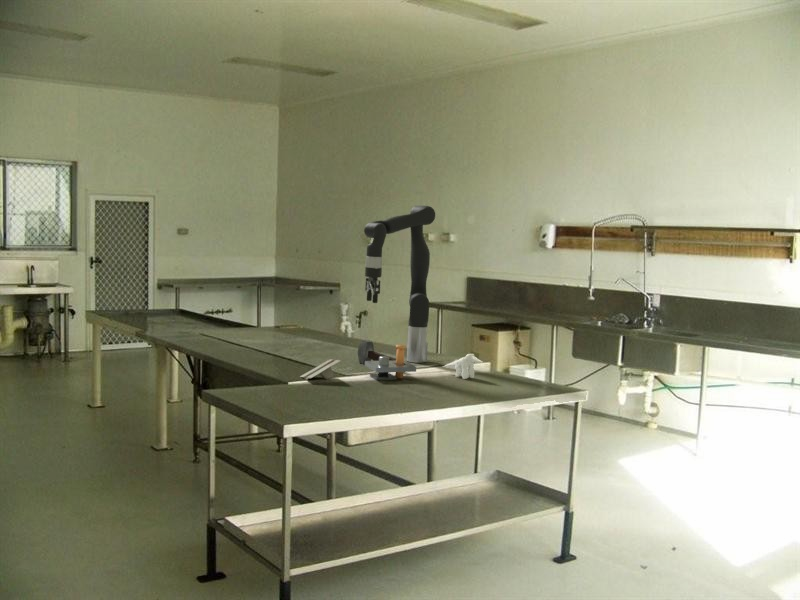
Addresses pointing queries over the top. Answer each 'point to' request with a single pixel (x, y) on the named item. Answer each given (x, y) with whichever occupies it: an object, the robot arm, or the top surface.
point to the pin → (400, 359)
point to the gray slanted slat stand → (321, 370)
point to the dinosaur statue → (464, 366)
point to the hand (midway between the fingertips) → (371, 301)
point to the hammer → (369, 352)
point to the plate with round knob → (387, 368)
